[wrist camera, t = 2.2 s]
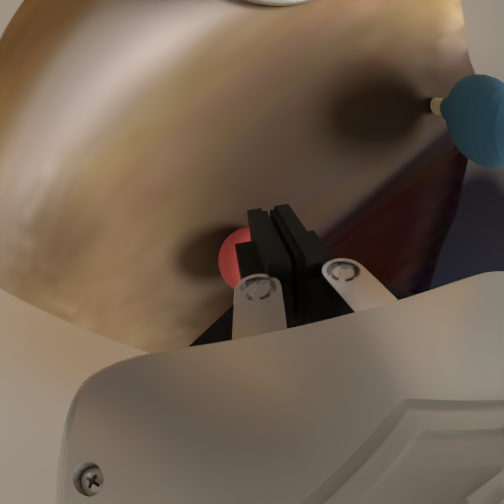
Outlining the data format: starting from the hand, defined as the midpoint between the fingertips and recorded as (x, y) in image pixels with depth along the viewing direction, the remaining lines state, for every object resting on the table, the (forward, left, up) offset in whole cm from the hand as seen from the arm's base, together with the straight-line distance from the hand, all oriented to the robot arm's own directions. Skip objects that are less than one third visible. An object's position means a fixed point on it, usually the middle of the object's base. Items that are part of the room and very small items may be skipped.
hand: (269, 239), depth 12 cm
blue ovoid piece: (-4, +21, -14) cm, 26 cm away
